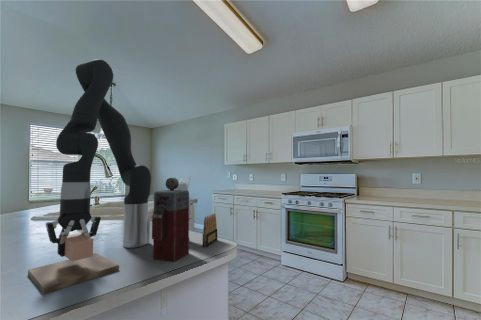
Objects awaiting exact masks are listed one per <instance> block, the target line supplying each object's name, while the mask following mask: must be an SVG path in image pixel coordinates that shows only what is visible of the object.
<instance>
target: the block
mask: <svg viewBox="0 0 481 320" xmlns="http://www.w3.org/2000/svg"><path fill="white" fill-rule="evenodd" d="M59 236H60V234H58V237H59ZM64 243H65V256H64V257H65V258H67V260H71V261H76V260H80V259H84V258H88V257H93V254H94V238H93V237H88V236H86V235H84V234H82V233H81V232H80V231H72V232H69V235H68V236H67V238H66V239H65V242H64Z"/></svg>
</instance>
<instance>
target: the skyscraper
mask: <svg viewBox="0 0 481 320" xmlns="http://www.w3.org/2000/svg"><path fill="white" fill-rule="evenodd" d="M183 180H188V182H186V181H183ZM178 182H179V185H178V187H177V188H176V189H174V190H188V191H189V185H190V182H191V178H190V177H183V178H180V179H179V180H178ZM190 198H191V197H190V196H189V219H190V216H191V199H190ZM190 239H191V238H189V243H191V240H190Z"/></svg>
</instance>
